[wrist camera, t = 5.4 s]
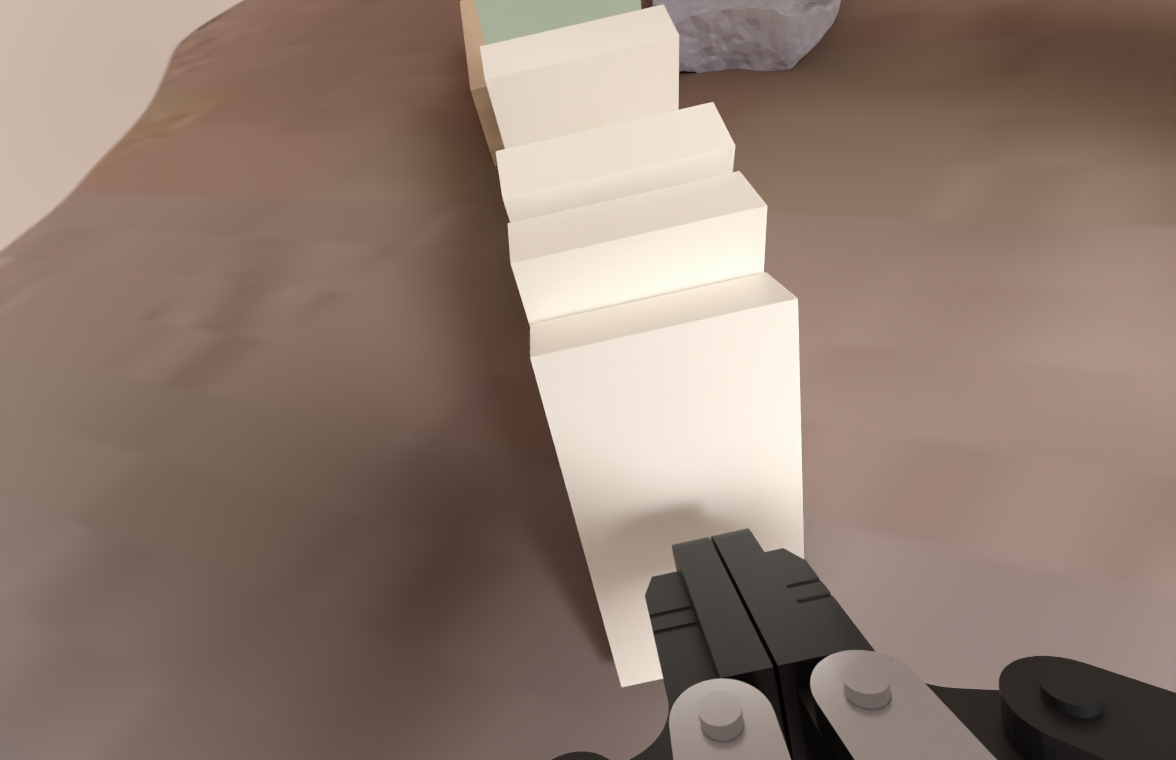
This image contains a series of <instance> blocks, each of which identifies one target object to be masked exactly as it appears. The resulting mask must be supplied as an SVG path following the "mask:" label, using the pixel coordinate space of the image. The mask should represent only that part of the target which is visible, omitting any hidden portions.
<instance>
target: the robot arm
mask: <svg viewBox="0 0 1176 760" xmlns="http://www.w3.org/2000/svg"><path fill="white" fill-rule="evenodd" d="M672 550H673V556H674V561H675V566H676V572H671V573H667V574H662V575H658V576H653V577H652V578H651V580H650V583H649V586H648V588H647V591H646V594H645V599H646V603H647V608H648V612H649V617H650V621H651V626H652V630H653V635H654V639H655V644H656V648H657V653H658V657H659V662H660V666H661V671H662V675H663V680H664V684H665V688H666V693H667V697H668V702H669V714H668V718H667V722H666V724H665V726H664V729H663V731H662V732H661V734H660V735H659V737H658V738H657V739H656V740H655V741H654V743H653V744H652V745H651V746H649V747H648V748H647V749H646V750H645V751H643V752H642V753H640V754H639V755H637V756H636V757H634V758H632V759H630V760H1176V693H1174V692H1171V691H1168V690H1165V689H1162V688H1159V687H1156V686H1153V685H1150V684H1147V683H1144V682H1141V681H1138V680H1135V679H1132V678H1128V677H1125V676H1122V675H1119V674H1116V673H1113V672H1110V671H1107V670H1104V669H1101V668H1098V667H1095V666H1092V665H1089V664H1086V663H1082V662H1079V661H1075V660H1071V659H1066V658H1061V657H1052V656H1034V657H1026V658H1022V659H1019V660H1016V661H1014V662H1012V663H1010V664H1009V665H1008V666H1006V667H1005V668H1004V670H1003V671H1002V672H1001V675H1000V678H999V690H980V689H961V688H947V687H940V686H935V685H930V684H926V683H924V682H923V681H922V680H921V679H920V678H919V677H918V675H917V674H916V673H915V672H913V671H912V670H911V669H910V668H909V667H908V666H906V665H905V664H903V663H902V662H900V661H898V660H896V659H894V658H892V657H890V656H887V655H885V654H881V653H877V652H875V651H874V649H873V648H872V647H871V645H870V644H869V643H868V641H867V640H866V639H865V637H864V636H863V635H862V634H861V632H860V631H859V630H858V628H857V627H856V626H855V624H854V623H853V622H852V620H851V619H850V618H849V616H848V615H847V614H846V613H845V611H844V610H843V609H842V607H841V606H840V605H839V603H838V602H837V601H836V599H835V598H834V597H833V596H831V594H830V592H829V590H828V589H827V588H826V586H825V585H824V584H823V582H822V581H821V582H820V580H819V577H818V576H817V575H816V573H815V572H814V571H813V569H812V568H811V567H810V565H809V564H808V563H807V562H806V560H804V559H802V558H800V557H799V556H797V555H795V554H793V553H791V552H790V551H788V550H786V549H784V548H781V549H777V550H772V551H767V552H764V550H763V549H762V547H761V546H760V544H759V543H758V541H757V540H756V538H755V537H754V535H753V534H752V532H751V531H750V529H749V528H746V529H741V530H737V531H732V532H728V533H723V534H718V535H714V536H711V540H710V538H709V537H705V538H701V539H696V540H692V541H687V542H682V543H678V544H673V545H672ZM552 760H609V759H607V758H605V757H603V756H601V755H599V754H596V753H591V752H573V753H567V754H564V755H561V756H558V757H556V758H554V759H552Z"/></svg>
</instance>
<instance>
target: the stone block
mask: <svg viewBox="0 0 1176 760" xmlns="http://www.w3.org/2000/svg"><path fill="white" fill-rule="evenodd" d="M840 3H841V0H653V2H652V7H654V6H658V5H663V4H664V6H665V8H666V10H667V12H668V14H669V16H670V18H671V20H672V22H673V24H674V26H675V28H676V30H677V32H678V34H679V72H682V71H688V72H692V71H695V72H696V73H703V72H711V71H720V70H724V69H736V68H738V69H748V70H755V71H785V70H789V69H791V68H793V67H794V66H795V65H796V64H797V63H798V61H799V60H800V59H802V58H803V57H804V56H805V55H806V54H807V53H808V52H809V51H810V50H811V49H812V48H813V47H814V46H815V45H816V44H817V43H818V42H819V41H820V40H821V38H822V37H823V35H824V34H825V33H826V32H827V31H828V29H829V28H830V27H831V26H832V25H833V22H834V20H835V18H836V16H837V14H838V11H839V8H840Z"/></svg>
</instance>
